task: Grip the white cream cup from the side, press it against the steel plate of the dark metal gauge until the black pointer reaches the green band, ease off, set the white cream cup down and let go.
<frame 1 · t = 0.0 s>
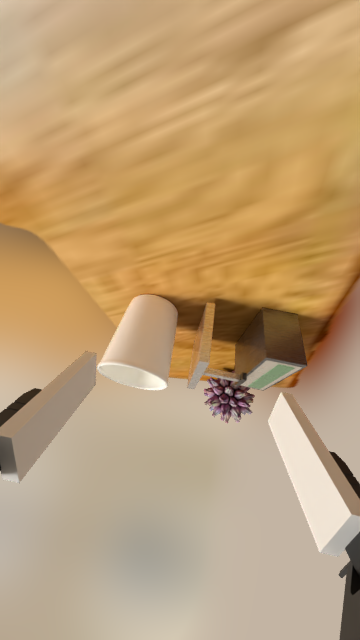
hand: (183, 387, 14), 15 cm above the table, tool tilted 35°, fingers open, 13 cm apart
flower: (229, 370, 50), on the table
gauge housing: (229, 325, 33), on the table
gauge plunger: (219, 353, 30), point 6 cm above the table, slide at 0.0 cm
white cream cup: (154, 309, 34), on the table
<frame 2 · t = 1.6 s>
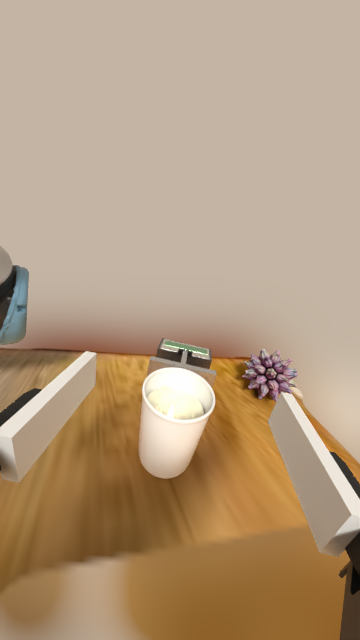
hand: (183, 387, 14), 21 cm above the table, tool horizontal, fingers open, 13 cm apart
flower: (259, 394, 47), on the table
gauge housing: (176, 391, 43), on the table
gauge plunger: (180, 375, 39), point 6 cm above the table, slide at 0.0 cm
white cream cup: (164, 450, 31), on the table
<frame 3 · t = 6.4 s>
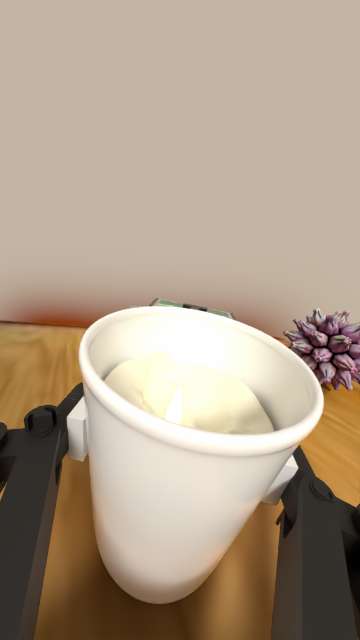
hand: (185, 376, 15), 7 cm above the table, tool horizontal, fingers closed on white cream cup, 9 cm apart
flower: (309, 383, 30), on the table
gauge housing: (180, 379, 25), on the table
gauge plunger: (187, 346, 22), point 6 cm above the table, slide at 0.0 cm
white cream cup: (161, 501, 13), on the table, touching gripper
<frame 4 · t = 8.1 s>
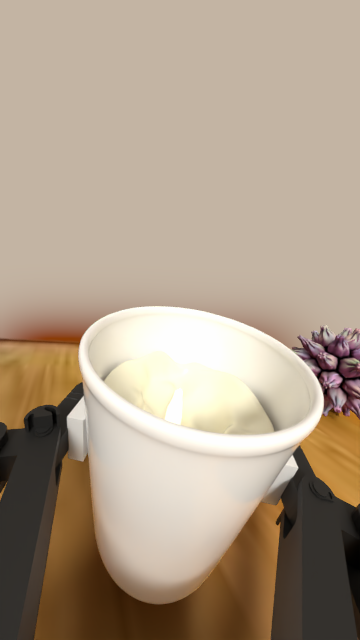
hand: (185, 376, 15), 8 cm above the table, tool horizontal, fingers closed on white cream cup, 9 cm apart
flower: (315, 405, 28), on the table
white cream cup: (161, 501, 13), point 1 cm above the table, touching gripper
when the fingers open (8 cm above the table, at t = 11.2 s): white cream cup moves 1 cm, on the table.
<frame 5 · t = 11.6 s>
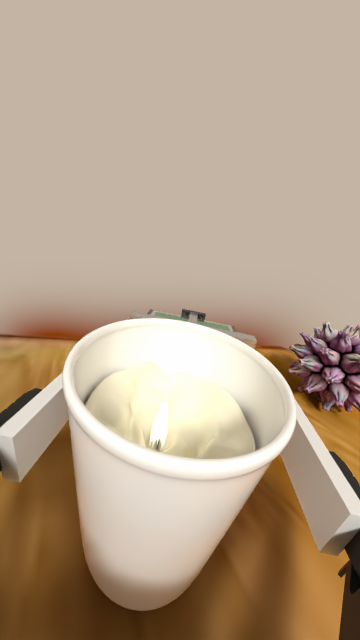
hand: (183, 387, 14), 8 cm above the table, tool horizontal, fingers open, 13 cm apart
flower: (317, 402, 28), on the table
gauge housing: (176, 401, 23), on the table
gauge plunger: (186, 351, 23), point 5 cm above the table, slide at 3.8 cm
white cream cup: (149, 508, 13), on the table
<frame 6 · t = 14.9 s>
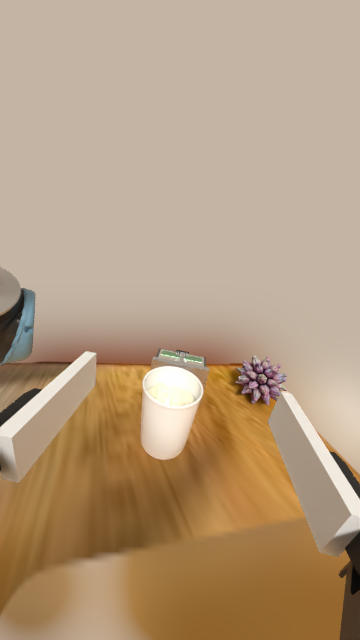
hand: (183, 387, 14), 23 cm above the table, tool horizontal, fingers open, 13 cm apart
flower: (252, 399, 50), on the table
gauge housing: (173, 399, 45), on the table
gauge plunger: (178, 373, 45), point 6 cm above the table, slide at 3.8 cm
white cream cup: (163, 438, 36), on the table
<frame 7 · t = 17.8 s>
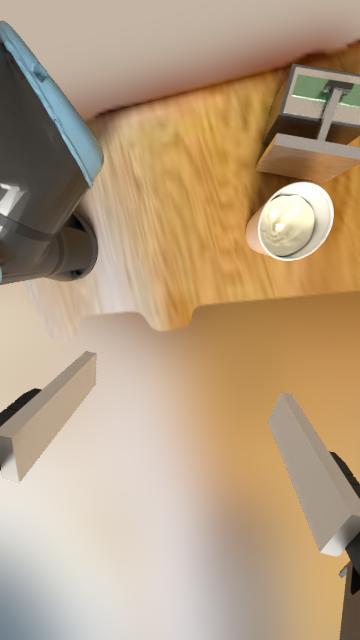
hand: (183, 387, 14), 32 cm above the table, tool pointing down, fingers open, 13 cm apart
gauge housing: (289, 170, 35), on the table
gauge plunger: (312, 136, 29), point 6 cm above the table, slide at 3.8 cm
white cream cup: (266, 231, 38), on the table
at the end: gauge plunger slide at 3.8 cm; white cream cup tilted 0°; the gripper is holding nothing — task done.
